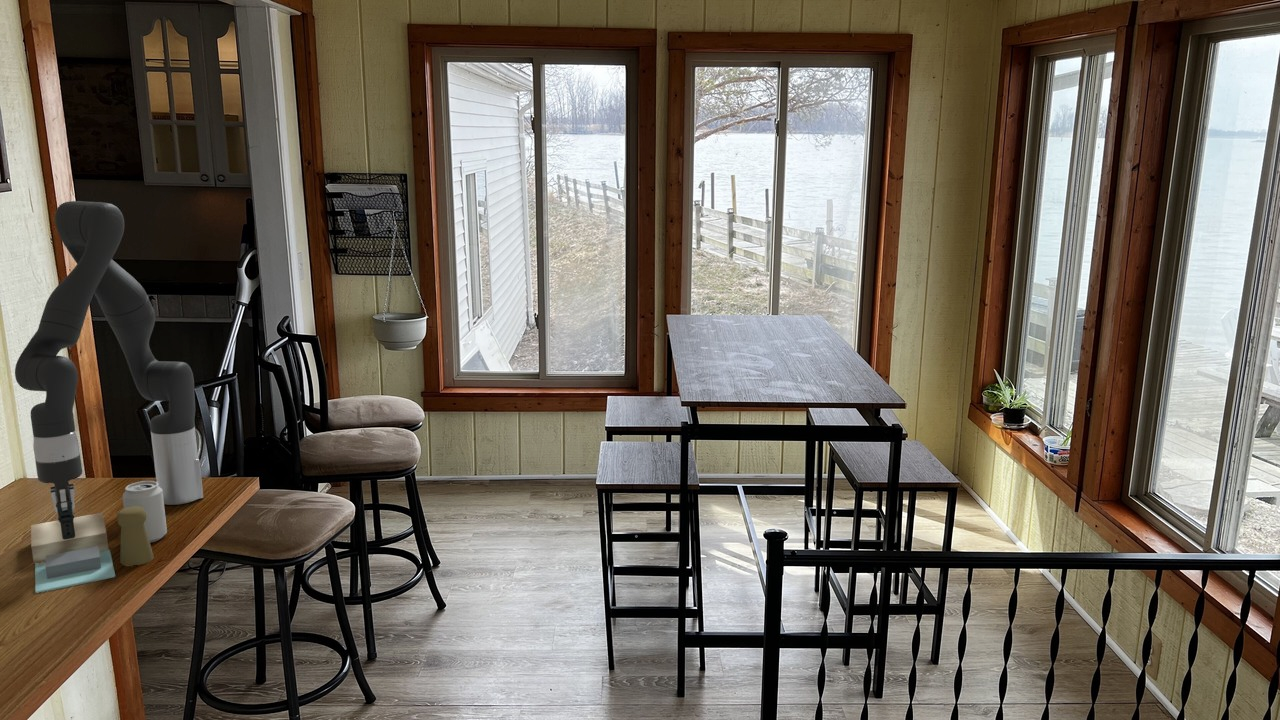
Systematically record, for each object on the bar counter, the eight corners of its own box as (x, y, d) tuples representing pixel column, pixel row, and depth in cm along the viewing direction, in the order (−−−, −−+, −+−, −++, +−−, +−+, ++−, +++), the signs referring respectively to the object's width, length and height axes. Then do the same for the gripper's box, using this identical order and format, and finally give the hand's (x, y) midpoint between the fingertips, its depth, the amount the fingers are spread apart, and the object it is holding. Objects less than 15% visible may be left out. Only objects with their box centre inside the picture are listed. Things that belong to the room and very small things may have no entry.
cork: (139, 567, 184) (133, 515, 182) (112, 564, 185) (106, 513, 183) (160, 555, 190) (154, 504, 187) (134, 552, 191) (128, 502, 189)
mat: (110, 551, 191) (109, 549, 191) (115, 576, 180) (115, 575, 180) (35, 566, 184) (35, 564, 184) (35, 593, 173) (35, 591, 173)
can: (175, 533, 200) (169, 481, 198) (147, 547, 193) (140, 493, 191) (148, 529, 203) (142, 477, 200) (119, 542, 196) (112, 488, 193)
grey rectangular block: (99, 556, 182) (101, 568, 183) (98, 546, 187) (99, 557, 188) (45, 567, 178) (47, 578, 178) (45, 556, 183) (47, 567, 183)
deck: (104, 529, 202) (102, 512, 201) (108, 550, 192) (106, 532, 191) (33, 542, 195) (31, 525, 195) (34, 565, 185) (31, 546, 184)
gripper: (81, 460, 179) (92, 544, 182) (78, 443, 190) (88, 522, 193) (35, 467, 175) (47, 553, 178) (34, 449, 186) (46, 530, 189)
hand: (69, 537), depth 186 cm, fingers closed
